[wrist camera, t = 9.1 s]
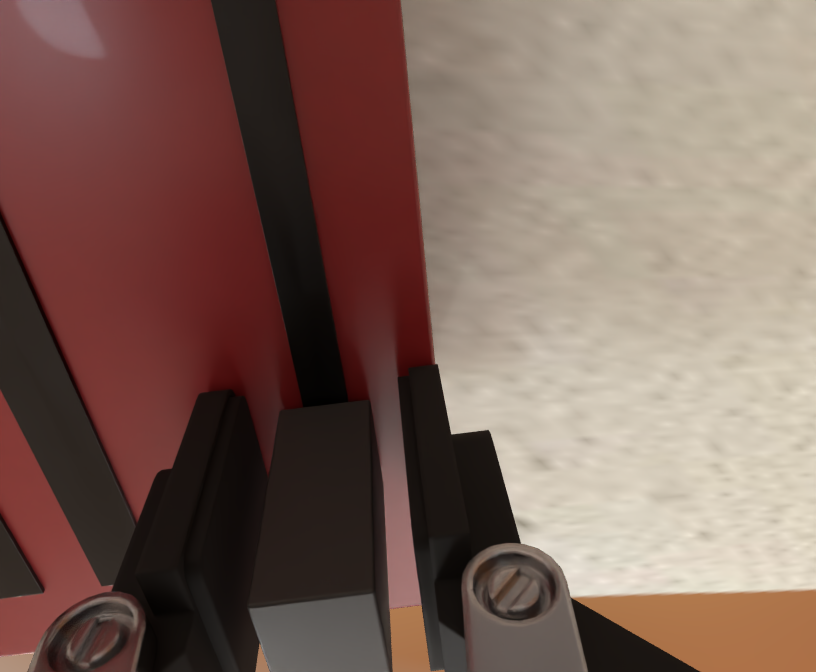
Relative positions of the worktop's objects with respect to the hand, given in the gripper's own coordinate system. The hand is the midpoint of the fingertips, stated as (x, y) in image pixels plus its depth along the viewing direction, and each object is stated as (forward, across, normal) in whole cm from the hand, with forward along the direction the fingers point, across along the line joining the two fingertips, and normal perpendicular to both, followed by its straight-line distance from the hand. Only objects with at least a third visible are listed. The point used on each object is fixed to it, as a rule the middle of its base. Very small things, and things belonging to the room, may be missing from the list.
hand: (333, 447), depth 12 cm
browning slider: (0, 0, 0) cm, 0 cm away
